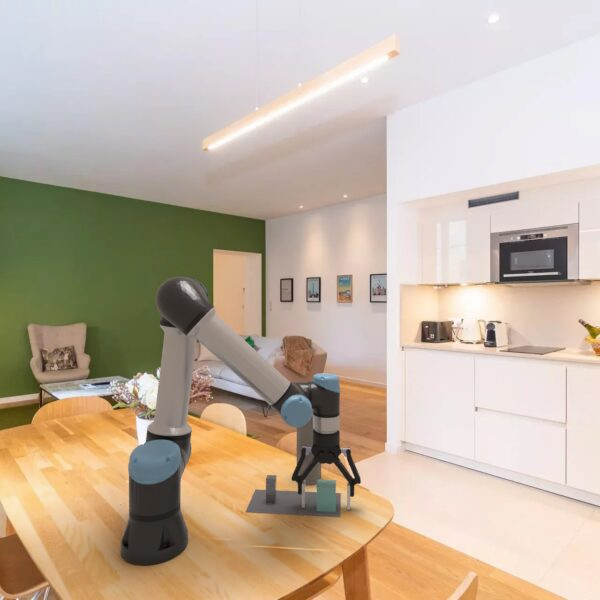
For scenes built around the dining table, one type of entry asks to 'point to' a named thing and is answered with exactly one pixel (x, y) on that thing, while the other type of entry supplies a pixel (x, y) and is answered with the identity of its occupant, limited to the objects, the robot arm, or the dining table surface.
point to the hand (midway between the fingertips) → (325, 506)
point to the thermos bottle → (307, 439)
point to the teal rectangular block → (326, 495)
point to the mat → (290, 504)
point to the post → (271, 489)
